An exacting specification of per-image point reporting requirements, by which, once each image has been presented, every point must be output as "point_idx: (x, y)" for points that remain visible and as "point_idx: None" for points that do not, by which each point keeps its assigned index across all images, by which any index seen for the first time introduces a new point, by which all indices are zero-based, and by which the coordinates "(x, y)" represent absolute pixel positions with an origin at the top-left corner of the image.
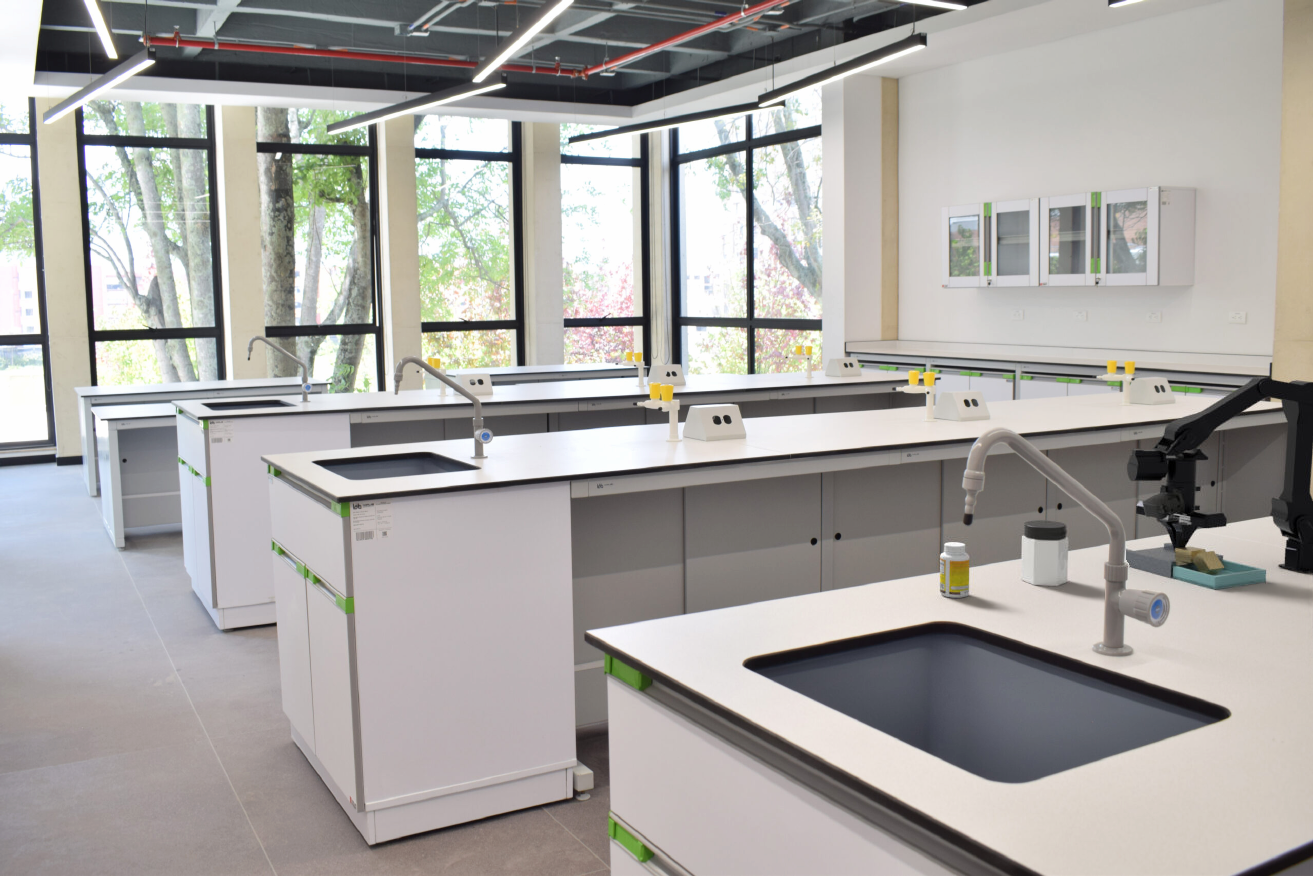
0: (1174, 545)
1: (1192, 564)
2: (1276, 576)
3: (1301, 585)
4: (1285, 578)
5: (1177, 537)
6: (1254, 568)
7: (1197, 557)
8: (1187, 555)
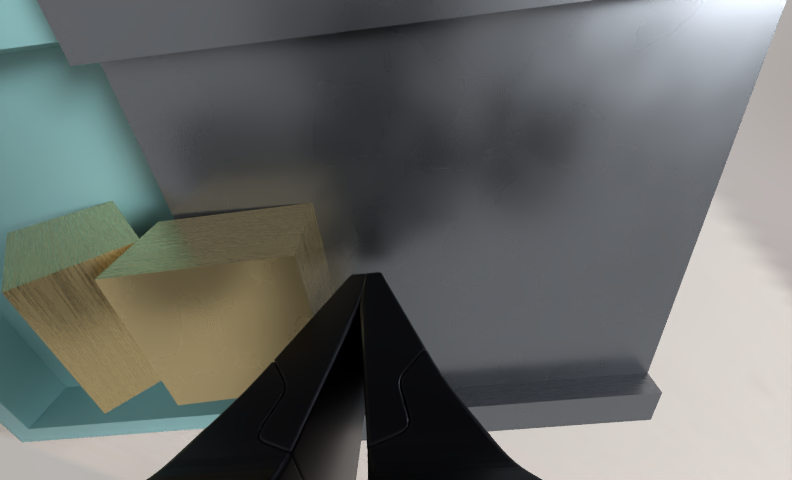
0: (371, 304)
1: None
2: (173, 454)
3: (26, 442)
4: (140, 458)
5: (297, 375)
6: (58, 424)
7: (62, 261)
8: (165, 246)
